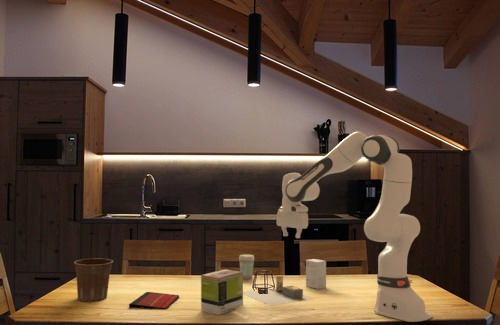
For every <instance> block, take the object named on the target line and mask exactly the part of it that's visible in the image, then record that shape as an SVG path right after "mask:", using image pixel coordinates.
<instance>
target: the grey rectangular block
mask: <svg viewBox="0 0 500 325" xmlns="http://www.w3.org/2000/svg"><path fill="white" fill-rule="evenodd" d="M303 290H304V289H302V288H300V287H297V286H294V285H287V286H286V285H285V286H283V295H284V296H287V297H290V298H292V299H296V298H303V296H304V294H303V293H304V291H303Z"/></svg>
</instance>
